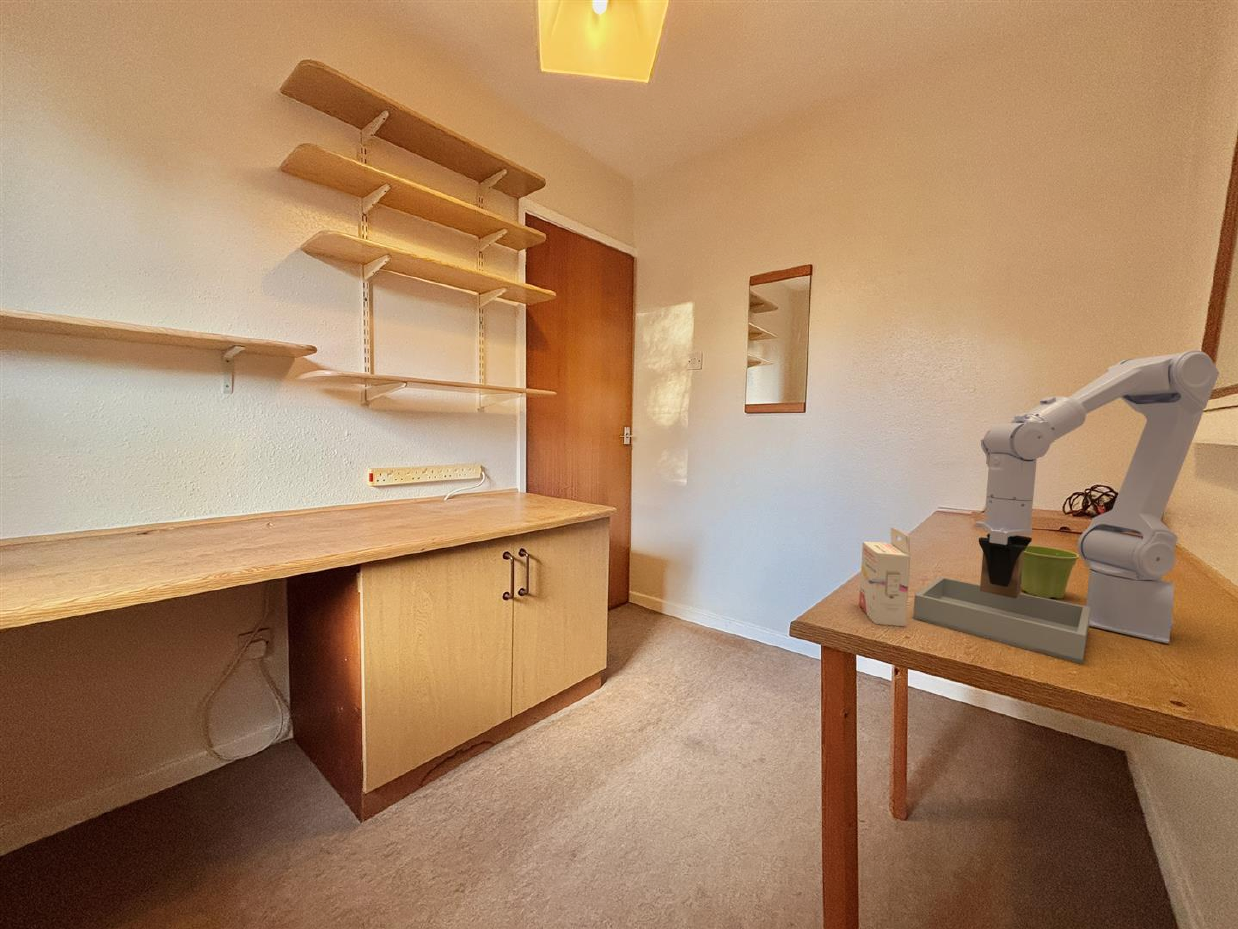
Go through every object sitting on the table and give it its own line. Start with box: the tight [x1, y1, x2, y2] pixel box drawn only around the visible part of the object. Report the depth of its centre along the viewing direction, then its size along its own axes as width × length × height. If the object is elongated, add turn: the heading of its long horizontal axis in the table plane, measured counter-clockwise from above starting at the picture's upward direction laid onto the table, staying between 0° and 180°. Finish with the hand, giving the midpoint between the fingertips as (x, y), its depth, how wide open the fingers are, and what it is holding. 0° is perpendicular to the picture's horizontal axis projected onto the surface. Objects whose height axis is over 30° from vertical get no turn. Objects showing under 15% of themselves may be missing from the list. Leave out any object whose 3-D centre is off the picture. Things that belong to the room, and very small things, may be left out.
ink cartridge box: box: [858, 526, 911, 627], centre depth 78 cm, size 9×5×15 cm, turn 168°
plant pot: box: [1021, 544, 1081, 600], centre depth 91 cm, size 9×9×9 cm
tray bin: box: [912, 576, 1090, 665], centre depth 75 cm, size 20×16×4 cm
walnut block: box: [979, 550, 1024, 599], centre depth 75 cm, size 4×4×7 cm
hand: (1001, 581), depth 75 cm, fingers closed on walnut block, 4 cm apart
